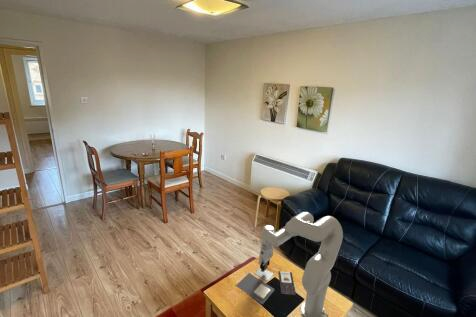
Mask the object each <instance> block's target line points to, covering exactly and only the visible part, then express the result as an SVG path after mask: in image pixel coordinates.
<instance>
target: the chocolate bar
mask: <svg viewBox="0 0 476 317" xmlns="http://www.w3.org/2000/svg"><path fill="white" fill-rule="evenodd" d="M278 278H279V287H280V294H281V295H287V296H288V295H289V296H293V297H294V296H297V293H296V287H295V283H294V277H293V272H292V271H279V270H278Z"/></svg>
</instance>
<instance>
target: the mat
mask: <svg viewBox="0 0 476 317" xmlns="http://www.w3.org/2000/svg"><path fill="white" fill-rule="evenodd" d="M260 284H263V285H264V286H266V287H267V288H269V289H270V290H271V291H270V292H269V294H268V295H267V296H266V297H265V298H264V299H262V298H260V297H259V296H258V295H256V294H255V293H254V291H255V290H256V289H257V288H258V287H259V286H260ZM235 286H236V287H237V288H238V289H239V290H241V291H243V292H244V293H245V294H247V295H248V296H249V297H251V298H253V299H254V300H255V301H257V302H258V303H260V304H261V305H264V303H266V301H267V300H268V299H269V297H270V296H271V295H272V294H273V293H274V292H275V288H273V287H272V286H270V285H269V284H268V283H265V282H264V281H263V280H261V279H259V278H258V277H256V276H255V275H254V274H252V273H251V272H249V273H247V274H246V275H245V276H244V277H243V278H242V279H241V280H240V281H239V282H238V283H237V284H236V285H235Z"/></svg>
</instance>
